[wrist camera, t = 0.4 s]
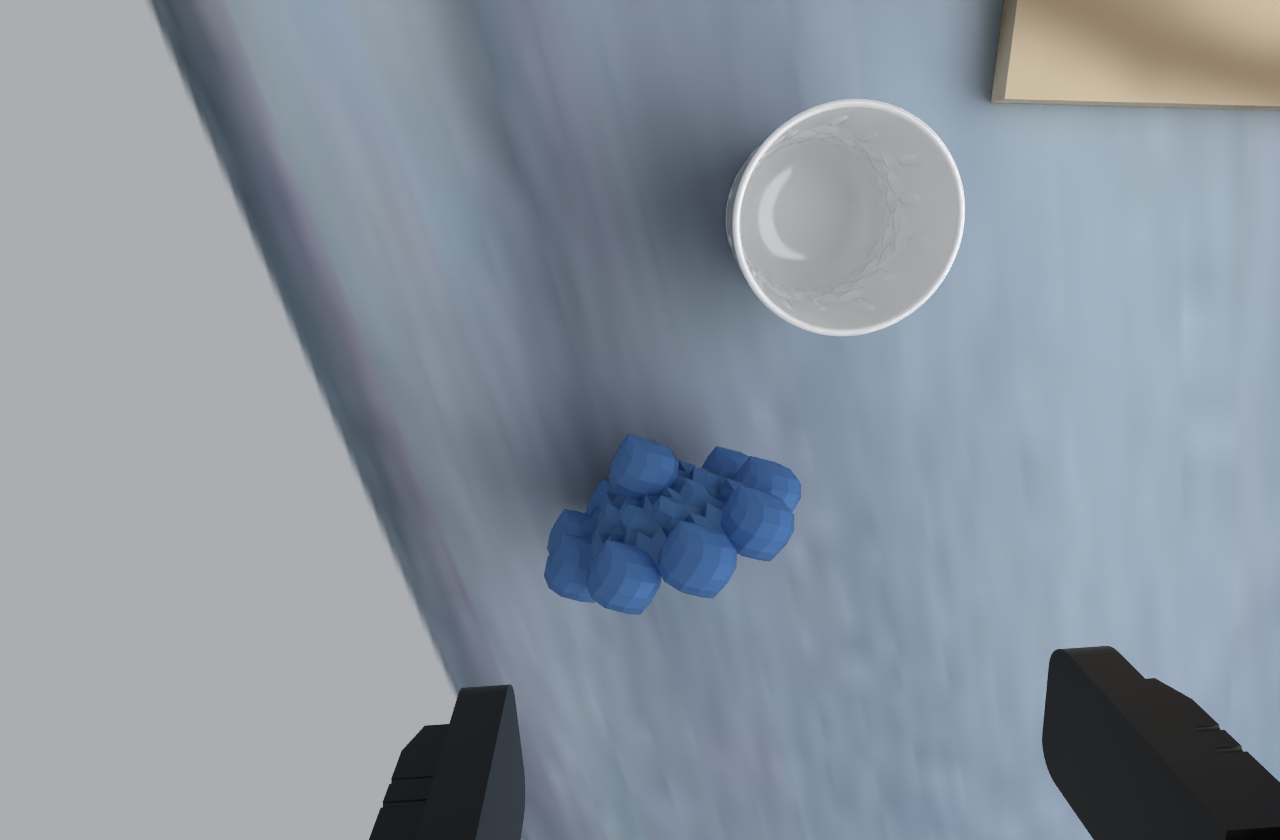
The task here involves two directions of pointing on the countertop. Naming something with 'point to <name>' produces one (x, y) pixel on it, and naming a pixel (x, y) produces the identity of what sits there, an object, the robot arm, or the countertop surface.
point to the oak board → (1140, 53)
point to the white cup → (846, 217)
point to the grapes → (670, 526)
